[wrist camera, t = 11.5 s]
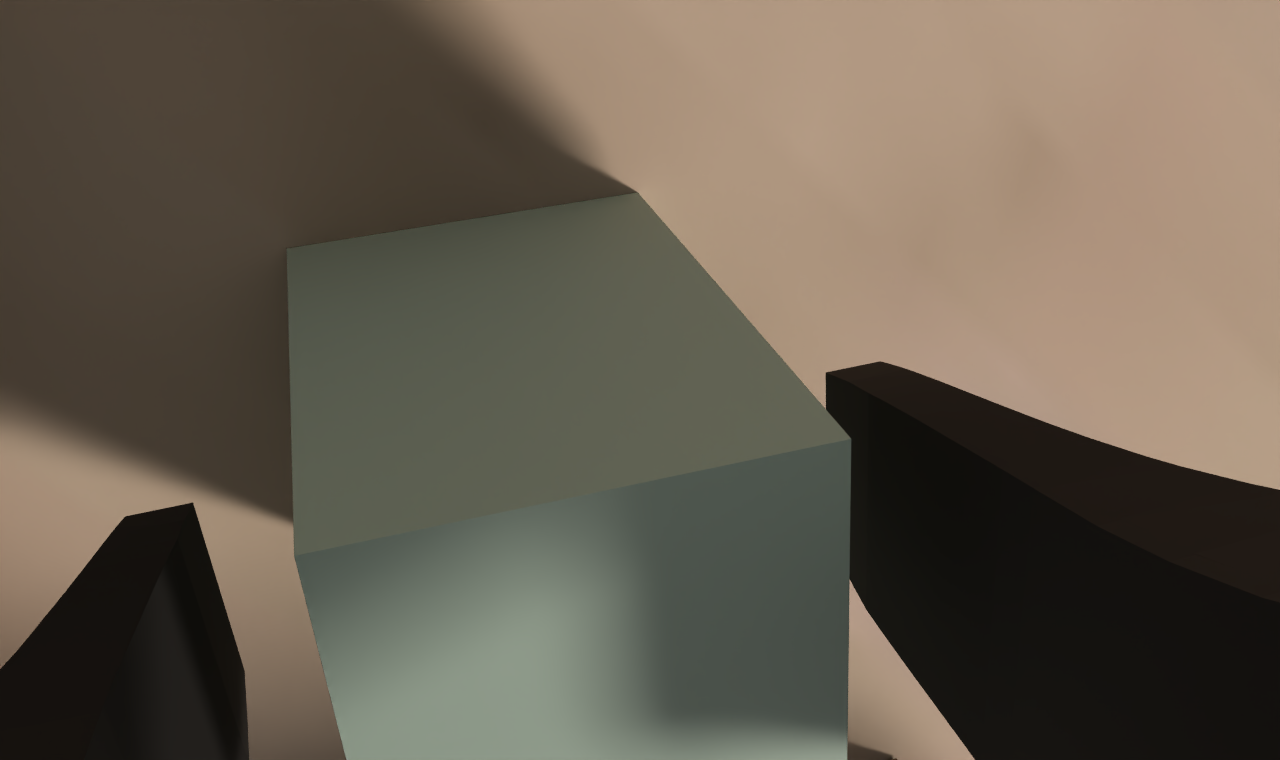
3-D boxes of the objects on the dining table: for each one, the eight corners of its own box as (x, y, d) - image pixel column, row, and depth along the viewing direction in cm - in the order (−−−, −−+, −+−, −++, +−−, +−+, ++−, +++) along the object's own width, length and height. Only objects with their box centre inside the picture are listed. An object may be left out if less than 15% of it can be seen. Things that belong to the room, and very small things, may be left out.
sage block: (659, 480, 16) (845, 824, 11) (353, 545, 15) (395, 950, 10) (637, 191, 14) (851, 438, 9) (286, 247, 13) (294, 555, 8)
